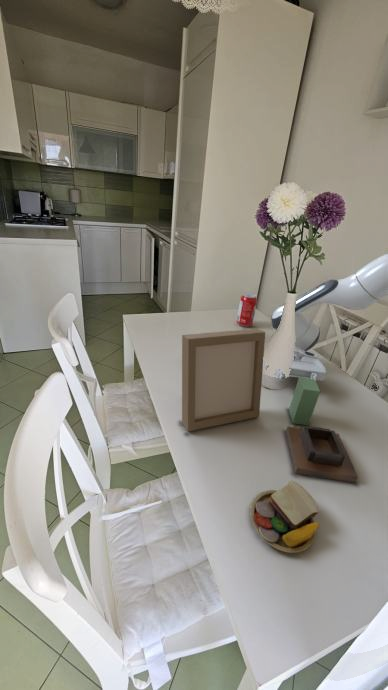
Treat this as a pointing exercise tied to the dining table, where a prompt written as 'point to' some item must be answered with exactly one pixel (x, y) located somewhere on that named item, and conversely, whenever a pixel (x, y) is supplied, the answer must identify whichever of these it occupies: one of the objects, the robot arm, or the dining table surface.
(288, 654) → the dining table surface
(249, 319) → the soda can
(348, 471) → the base
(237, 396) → the photo frame
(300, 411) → the back pad
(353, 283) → the robot arm
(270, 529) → the toy sandwich meal
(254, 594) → the dining table surface
